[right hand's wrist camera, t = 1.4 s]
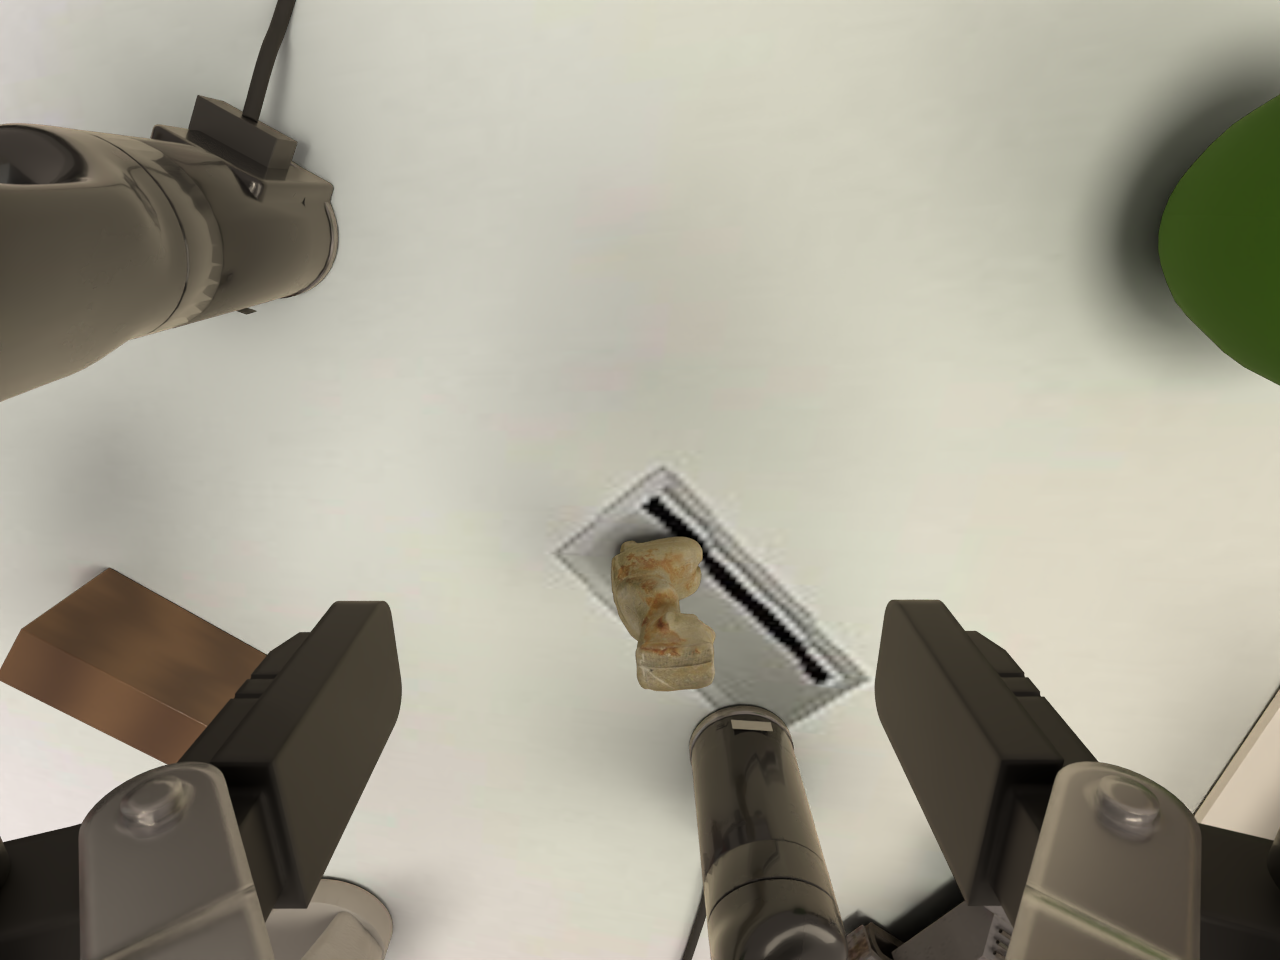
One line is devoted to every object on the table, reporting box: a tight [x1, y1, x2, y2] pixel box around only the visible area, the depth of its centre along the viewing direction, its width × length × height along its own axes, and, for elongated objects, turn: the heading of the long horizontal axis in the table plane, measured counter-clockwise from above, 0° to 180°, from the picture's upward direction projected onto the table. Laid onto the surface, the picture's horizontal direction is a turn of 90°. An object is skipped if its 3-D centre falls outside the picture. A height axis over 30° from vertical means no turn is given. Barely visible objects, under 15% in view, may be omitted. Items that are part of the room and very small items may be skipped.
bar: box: [0, 568, 267, 765], centre depth 57 cm, size 23×5×9 cm, turn 52°
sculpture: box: [611, 537, 715, 691], centre depth 50 cm, size 6×7×15 cm
